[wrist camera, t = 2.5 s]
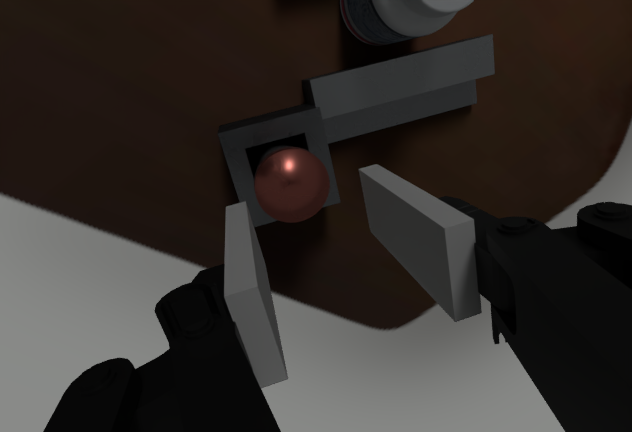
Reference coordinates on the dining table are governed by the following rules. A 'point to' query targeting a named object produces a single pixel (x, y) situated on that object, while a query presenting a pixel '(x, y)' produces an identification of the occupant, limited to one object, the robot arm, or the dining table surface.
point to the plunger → (290, 182)
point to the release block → (268, 129)
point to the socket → (400, 87)
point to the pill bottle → (397, 18)
